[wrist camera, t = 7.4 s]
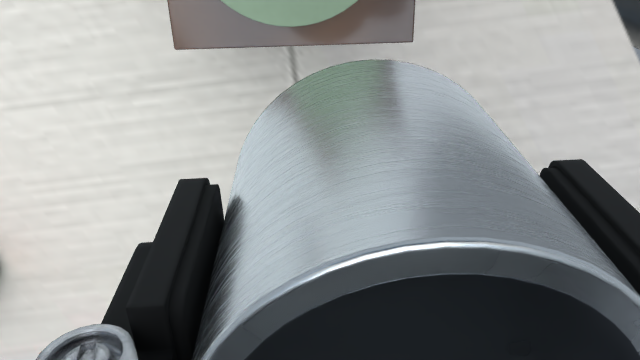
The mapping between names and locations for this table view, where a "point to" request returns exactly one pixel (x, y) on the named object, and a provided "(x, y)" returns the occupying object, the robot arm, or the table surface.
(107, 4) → the table surface
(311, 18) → the coaster
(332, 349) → the silver cup
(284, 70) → the table surface
